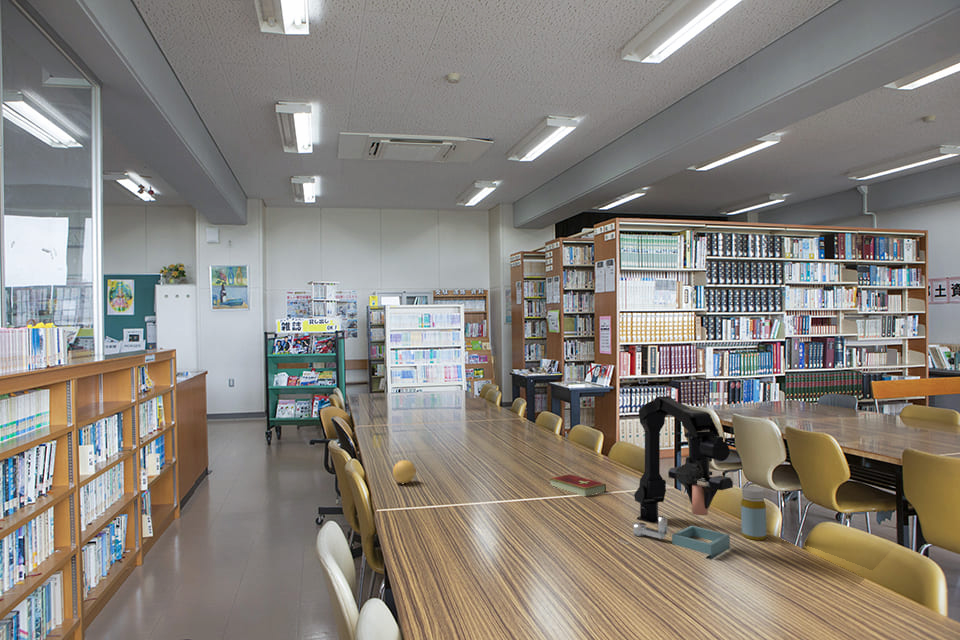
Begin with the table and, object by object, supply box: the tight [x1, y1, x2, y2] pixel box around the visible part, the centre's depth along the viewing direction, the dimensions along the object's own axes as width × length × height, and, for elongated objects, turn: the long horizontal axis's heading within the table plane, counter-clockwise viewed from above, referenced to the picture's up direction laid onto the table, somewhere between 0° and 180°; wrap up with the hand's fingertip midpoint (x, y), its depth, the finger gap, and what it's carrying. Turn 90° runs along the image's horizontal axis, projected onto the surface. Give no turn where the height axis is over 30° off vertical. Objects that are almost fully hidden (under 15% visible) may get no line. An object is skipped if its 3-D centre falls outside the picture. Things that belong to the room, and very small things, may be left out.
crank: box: [632, 515, 668, 540], centre depth 177 cm, size 11×4×7 cm, turn 43°
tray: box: [671, 525, 731, 560], centre depth 171 cm, size 12×12×4 cm
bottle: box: [740, 485, 767, 541], centre depth 181 cm, size 7×7×15 cm
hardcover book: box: [549, 473, 607, 497], centre depth 239 cm, size 12×21×4 cm, turn 35°
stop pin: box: [691, 483, 709, 516], centre depth 172 cm, size 4×4×8 cm
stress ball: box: [392, 459, 417, 484], centre depth 251 cm, size 10×10×10 cm
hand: (699, 506), depth 172 cm, fingers closed on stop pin, 4 cm apart
